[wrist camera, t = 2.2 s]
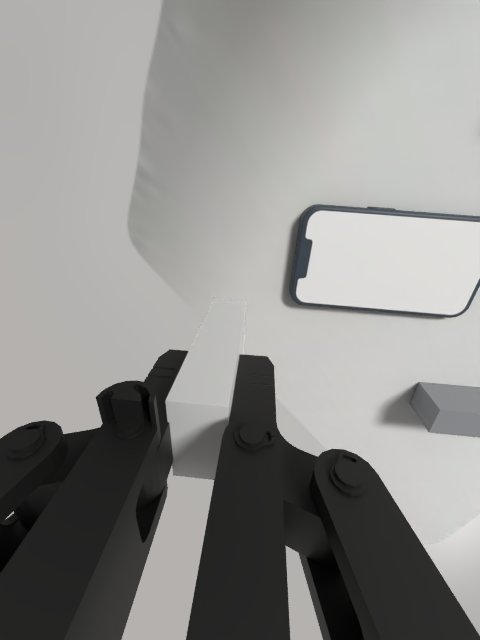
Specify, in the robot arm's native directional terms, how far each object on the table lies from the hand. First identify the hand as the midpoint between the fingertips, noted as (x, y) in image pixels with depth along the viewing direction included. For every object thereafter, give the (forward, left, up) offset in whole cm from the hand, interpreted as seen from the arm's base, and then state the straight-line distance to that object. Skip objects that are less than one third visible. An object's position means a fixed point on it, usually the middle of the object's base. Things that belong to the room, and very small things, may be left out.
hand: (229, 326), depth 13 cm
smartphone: (0, +12, -14) cm, 19 cm away
